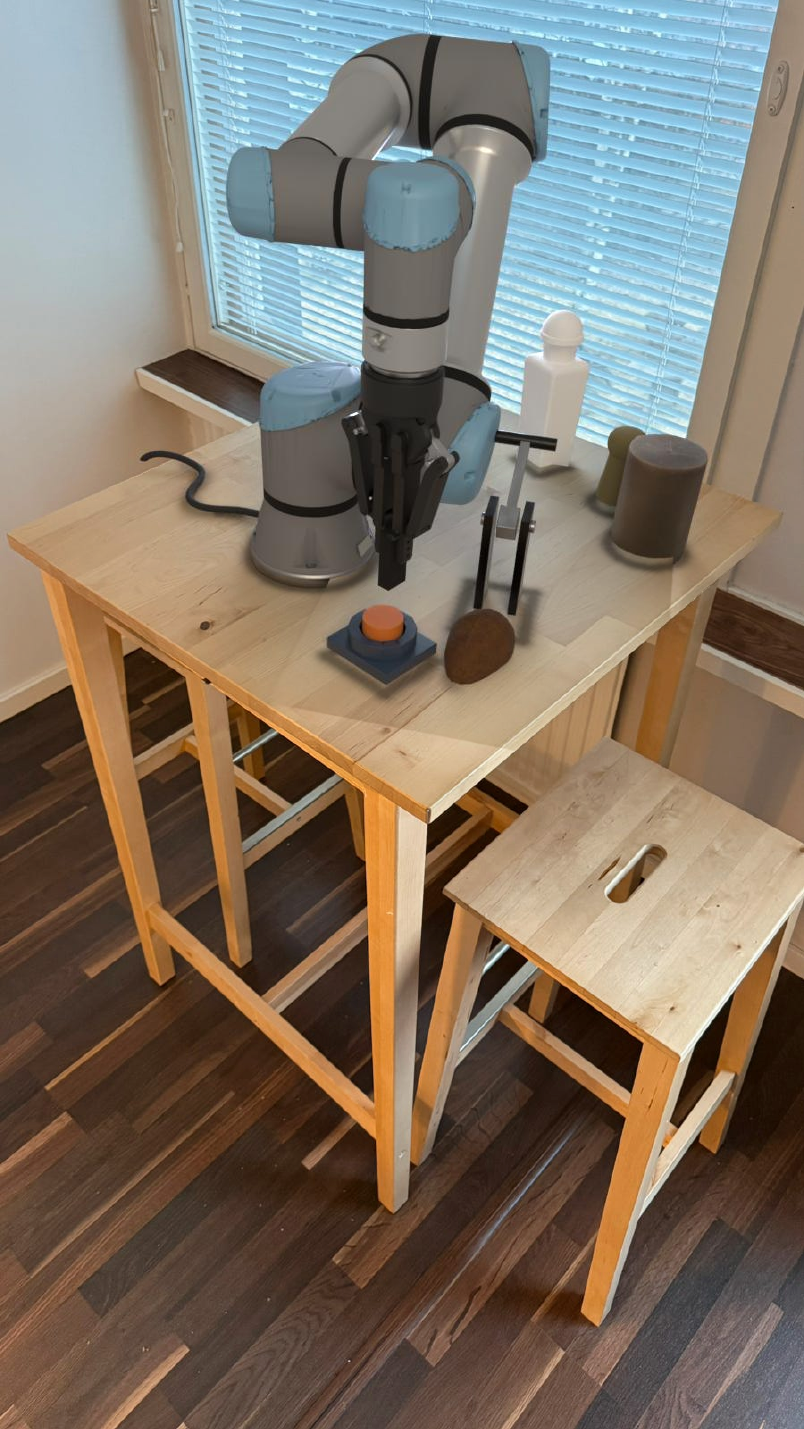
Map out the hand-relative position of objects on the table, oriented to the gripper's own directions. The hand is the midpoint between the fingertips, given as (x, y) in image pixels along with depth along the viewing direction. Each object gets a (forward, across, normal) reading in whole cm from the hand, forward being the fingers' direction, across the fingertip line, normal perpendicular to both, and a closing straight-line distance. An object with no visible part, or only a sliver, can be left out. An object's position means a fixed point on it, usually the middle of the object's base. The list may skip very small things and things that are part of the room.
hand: (391, 582), depth 107 cm
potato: (+10, +8, +6) cm, 14 cm away
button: (+6, 0, -1) cm, 6 cm away
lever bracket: (+10, +3, +16) cm, 19 cm away
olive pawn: (+10, 0, +48) cm, 49 cm away
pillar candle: (+10, +9, +41) cm, 43 cm away
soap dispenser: (+10, -14, +50) cm, 53 cm away
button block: (+10, 0, 0) cm, 10 cm away
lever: (-3, +1, +20) cm, 21 cm away
